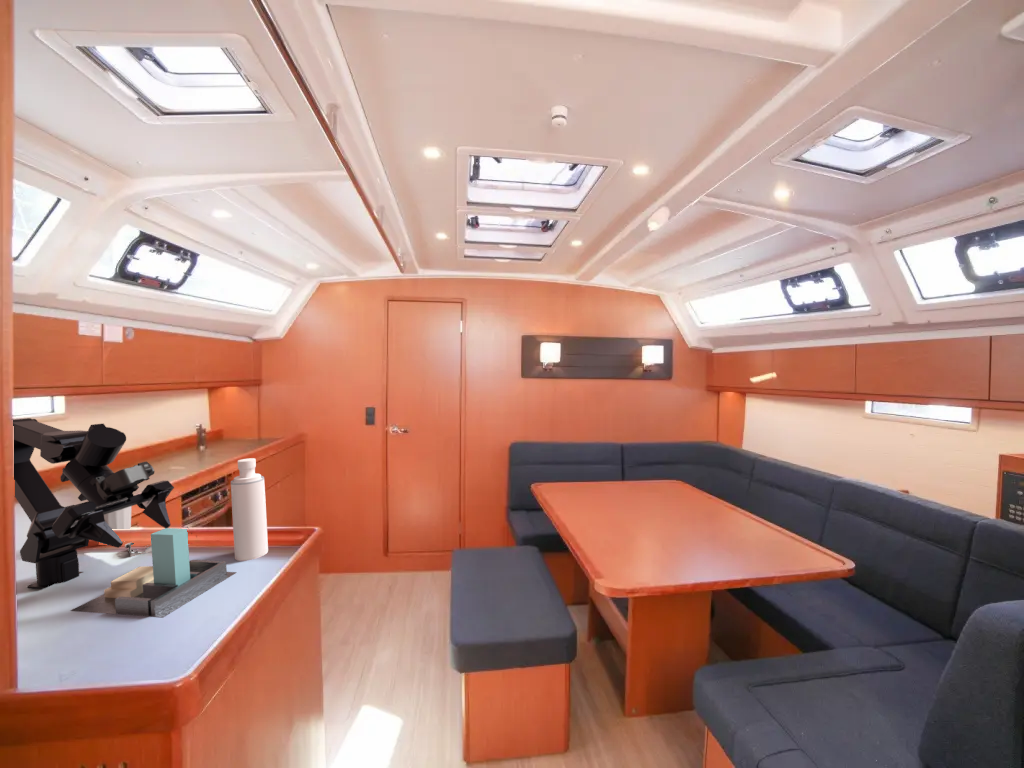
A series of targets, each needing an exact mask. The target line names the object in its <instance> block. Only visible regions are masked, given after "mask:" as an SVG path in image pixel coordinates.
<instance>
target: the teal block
mask: <svg viewBox="0 0 1024 768" xmlns="http://www.w3.org/2000/svg"><path fill="white" fill-rule="evenodd" d="M150 537H151V544H150V546H152V552H151V557H152V558H151V559H152V566H153V577H154V583H159V584H176V585H178V586H179V585H181V584H183V583H185V582H186V581H188V580H190V565H189V561H190V553H189V544H188V532H187V529H182V528H172V527H169V528H163V529H162V528H161V530H158V531H155V532H153V533H150Z"/></svg>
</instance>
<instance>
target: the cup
mask: <svg viewBox="0 0 1024 768" xmlns="http://www.w3.org/2000/svg"><path fill="white" fill-rule="evenodd" d="M132 507H133V506H130V507H127V508H124V509H121V510H117V511H114V512H111V513H107V514H104V519H105V522H106V523H107V524H108V525H109V526H110V527H111V528H112V529H130V528H131V529H132Z"/></svg>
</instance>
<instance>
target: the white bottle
mask: <svg viewBox="0 0 1024 768" xmlns="http://www.w3.org/2000/svg"><path fill="white" fill-rule="evenodd" d="M256 460H257V459H256V458H254V457H251V458H249V457H248V458H242V459H238V460H237V470H238V471H239V475H237V476H234V477H233V479H232V480H231V481H230V491H231V492H230V493H231V494H230V495H231V510H232V511H231V513H232V528H233V529H232V530H233V531H232V532H233V547H234V550H233V551H234V560H236V561H239V562H240V561H241V562H244V561H245V562H247V561H252V560H255V559H259V558H261V557H263V556H265V555H267V553H268V552H269V543H268V520H267V505H266V502H267V501H266V486H265V476H264V475H262V474H260V473H256V467H257V462H256Z"/></svg>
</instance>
